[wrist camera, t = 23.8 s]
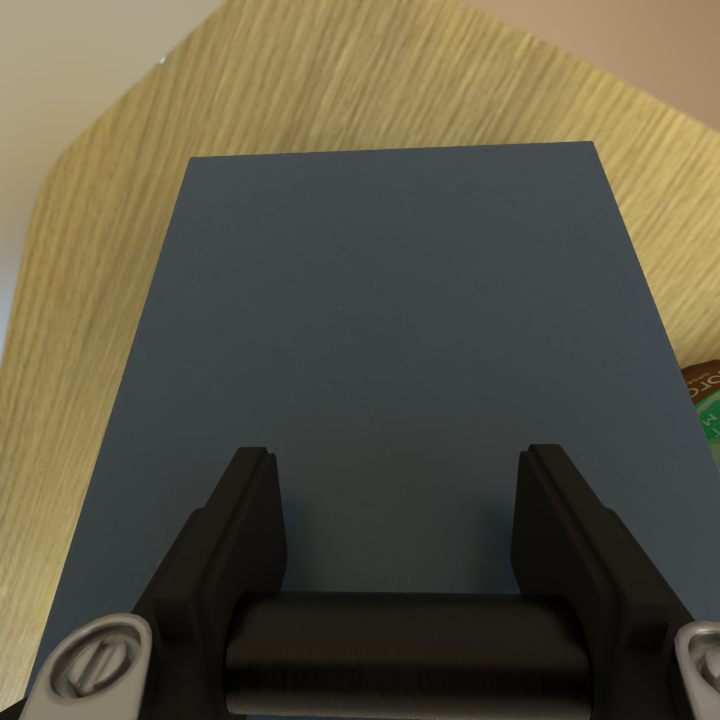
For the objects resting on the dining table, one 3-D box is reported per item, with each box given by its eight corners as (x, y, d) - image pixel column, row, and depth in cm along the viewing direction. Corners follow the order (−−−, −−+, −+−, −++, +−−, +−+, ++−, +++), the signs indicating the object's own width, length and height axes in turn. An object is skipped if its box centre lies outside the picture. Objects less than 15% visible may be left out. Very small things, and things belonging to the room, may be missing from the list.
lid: (810, 782, 9) (1174, 927, 5) (29, 755, 9) (-235, 858, 5) (585, 158, 18) (642, 25, 14) (196, 173, 19) (144, 52, 15)
